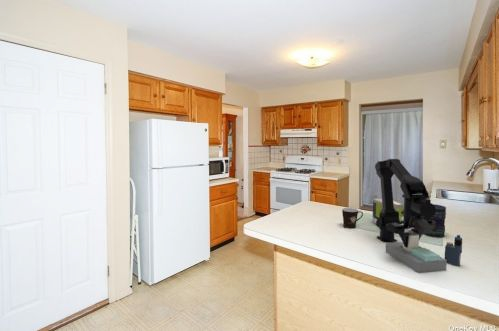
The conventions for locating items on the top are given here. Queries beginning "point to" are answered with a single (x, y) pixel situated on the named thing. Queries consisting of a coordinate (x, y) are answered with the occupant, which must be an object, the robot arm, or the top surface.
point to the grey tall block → (412, 241)
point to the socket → (414, 259)
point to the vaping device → (454, 251)
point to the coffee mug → (350, 217)
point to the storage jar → (438, 222)
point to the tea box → (378, 207)
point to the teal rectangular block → (425, 254)
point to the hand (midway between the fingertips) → (410, 246)
